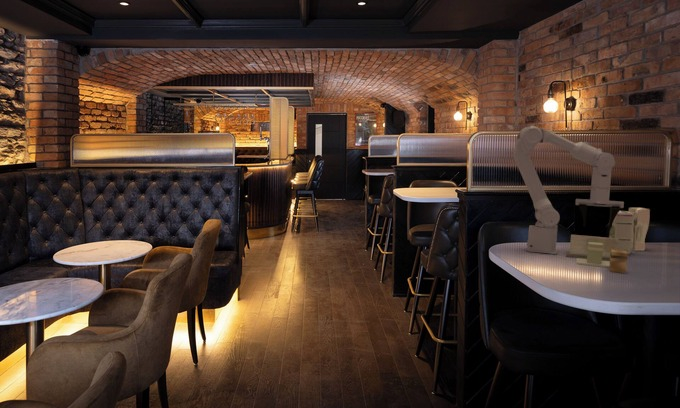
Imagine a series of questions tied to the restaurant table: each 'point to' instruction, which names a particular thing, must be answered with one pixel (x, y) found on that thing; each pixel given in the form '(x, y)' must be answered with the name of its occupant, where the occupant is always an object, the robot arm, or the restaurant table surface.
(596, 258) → the sage block
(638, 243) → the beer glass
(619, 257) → the oak block
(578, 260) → the pad
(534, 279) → the restaurant table surface
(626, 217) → the syrup box
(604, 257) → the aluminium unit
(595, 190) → the robot arm
